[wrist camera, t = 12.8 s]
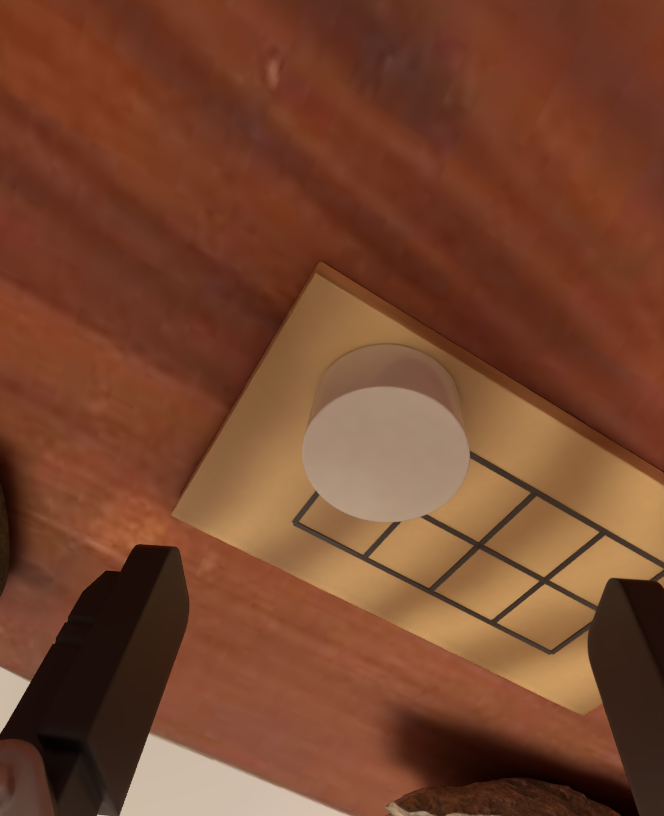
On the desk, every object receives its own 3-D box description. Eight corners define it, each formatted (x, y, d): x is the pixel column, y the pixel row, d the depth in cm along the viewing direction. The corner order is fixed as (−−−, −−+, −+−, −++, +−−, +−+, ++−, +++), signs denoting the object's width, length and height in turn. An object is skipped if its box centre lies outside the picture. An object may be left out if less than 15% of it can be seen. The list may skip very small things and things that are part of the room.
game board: (179, 495, 22) (168, 517, 21) (319, 259, 17) (314, 273, 16) (575, 691, 26) (582, 718, 25) (791, 550, 21) (813, 577, 20)
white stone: (287, 426, 18) (272, 476, 16) (363, 315, 16) (357, 354, 14) (404, 490, 19) (405, 546, 17) (492, 393, 17) (506, 442, 15)
